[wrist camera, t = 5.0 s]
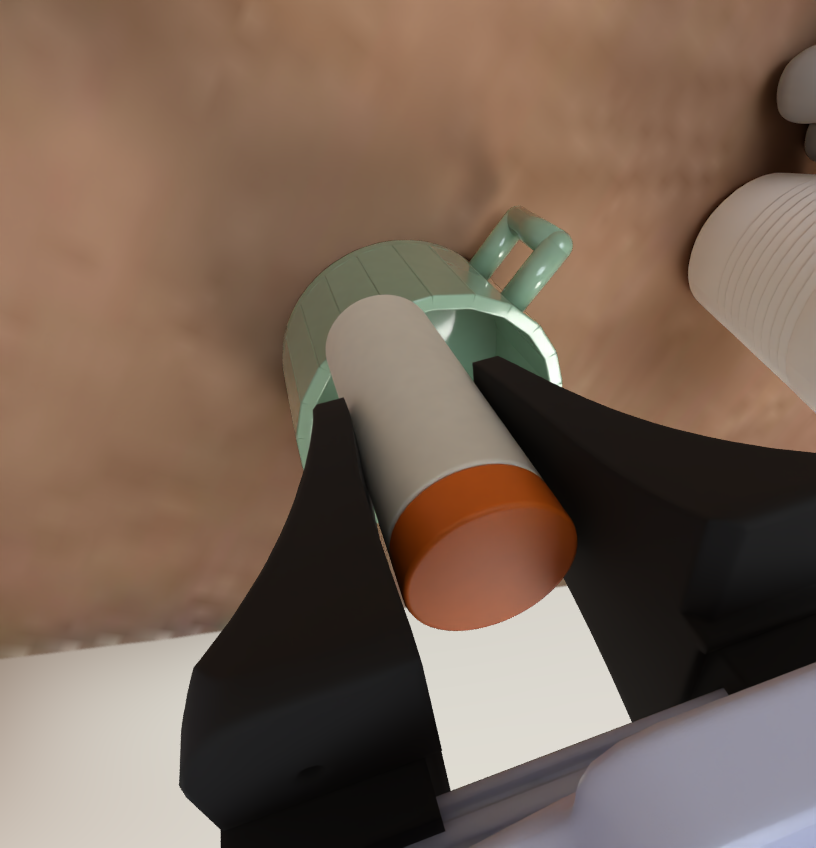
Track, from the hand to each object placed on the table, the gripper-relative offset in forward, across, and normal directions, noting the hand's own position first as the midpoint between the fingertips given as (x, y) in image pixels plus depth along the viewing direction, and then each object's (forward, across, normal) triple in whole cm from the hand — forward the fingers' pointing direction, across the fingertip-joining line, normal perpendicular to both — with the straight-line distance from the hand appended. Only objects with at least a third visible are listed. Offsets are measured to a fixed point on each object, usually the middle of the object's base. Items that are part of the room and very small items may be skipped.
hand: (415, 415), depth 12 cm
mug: (+10, -3, +4) cm, 11 cm away
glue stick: (+3, 0, 0) cm, 3 cm away
